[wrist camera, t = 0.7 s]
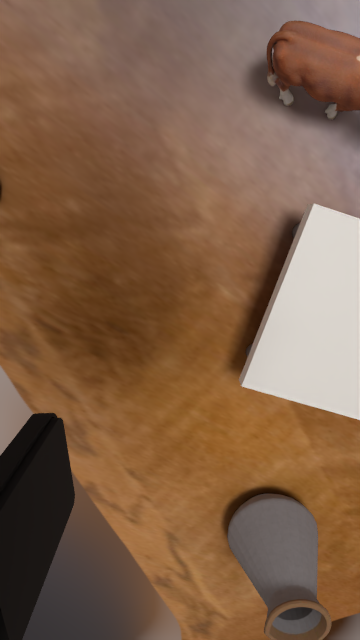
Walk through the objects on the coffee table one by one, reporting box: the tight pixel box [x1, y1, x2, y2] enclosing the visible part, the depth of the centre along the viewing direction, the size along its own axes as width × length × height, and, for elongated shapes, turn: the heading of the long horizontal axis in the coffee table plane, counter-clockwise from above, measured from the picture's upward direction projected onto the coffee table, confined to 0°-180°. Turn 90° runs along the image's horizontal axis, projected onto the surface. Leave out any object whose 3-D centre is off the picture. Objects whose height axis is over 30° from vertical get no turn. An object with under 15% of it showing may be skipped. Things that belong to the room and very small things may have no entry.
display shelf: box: [239, 204, 360, 420], centre depth 34 cm, size 18×16×6 cm
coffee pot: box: [227, 493, 331, 640], centre depth 39 cm, size 21×12×15 cm, turn 19°
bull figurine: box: [267, 21, 360, 120], centre depth 27 cm, size 4×13×8 cm, turn 67°
